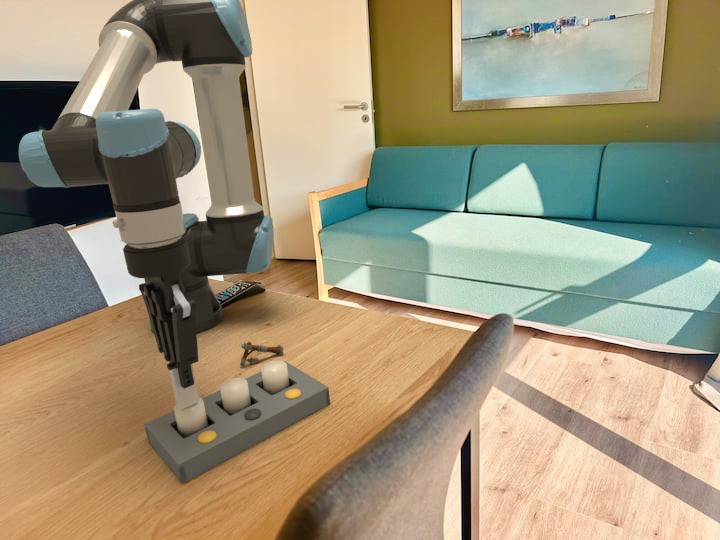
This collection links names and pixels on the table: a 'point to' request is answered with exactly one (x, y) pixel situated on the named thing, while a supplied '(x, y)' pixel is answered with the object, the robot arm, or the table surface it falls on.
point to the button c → (275, 376)
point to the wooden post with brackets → (249, 346)
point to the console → (235, 424)
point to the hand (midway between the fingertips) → (187, 403)
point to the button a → (191, 418)
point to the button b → (235, 395)
